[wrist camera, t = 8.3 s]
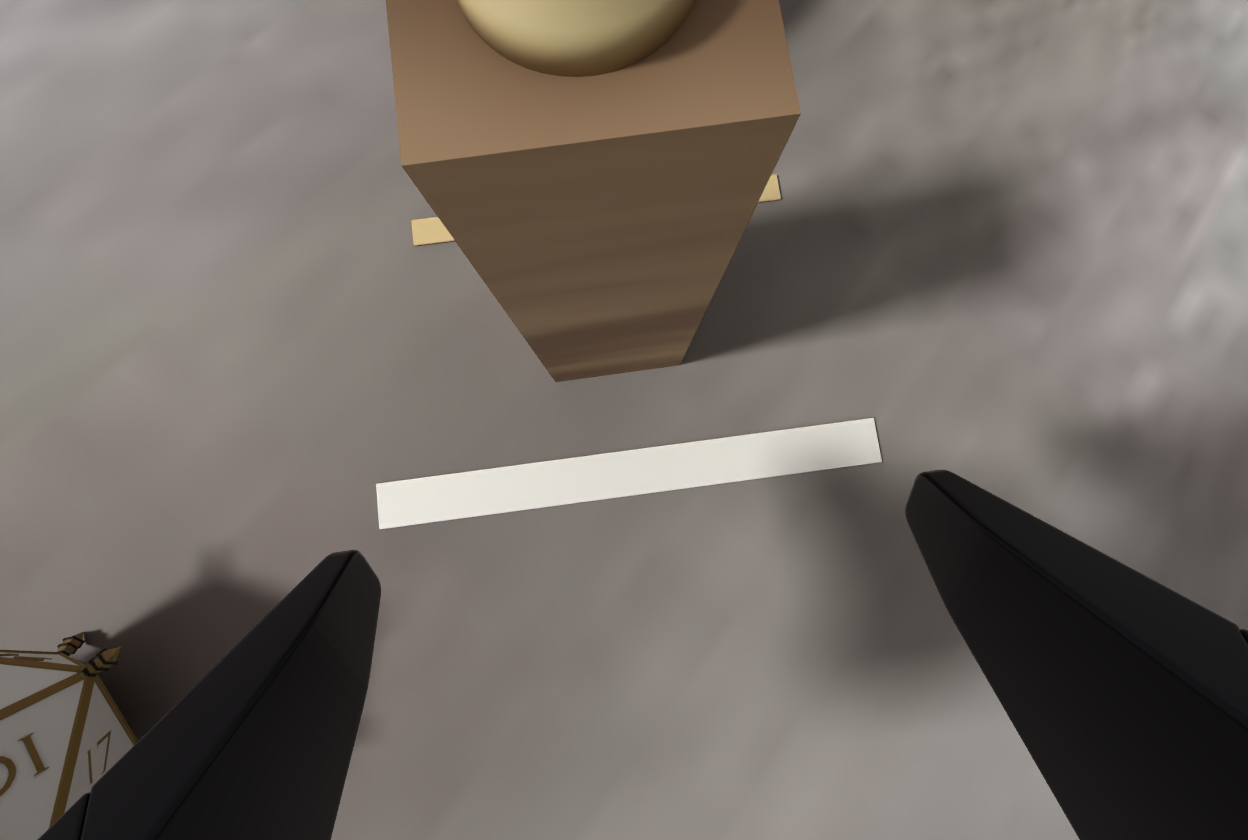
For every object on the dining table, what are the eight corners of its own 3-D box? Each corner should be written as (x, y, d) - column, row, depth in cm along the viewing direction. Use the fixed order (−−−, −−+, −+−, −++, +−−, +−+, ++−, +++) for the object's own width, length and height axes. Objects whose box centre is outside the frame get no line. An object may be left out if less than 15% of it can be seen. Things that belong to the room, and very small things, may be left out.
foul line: (872, 418, 19) (873, 417, 18) (881, 461, 18) (881, 461, 18) (376, 483, 18) (375, 483, 18) (380, 529, 18) (379, 529, 18)
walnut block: (680, 365, 19) (820, 73, 5) (555, 382, 19) (375, 129, 5) (661, 246, 19) (746, -295, 6) (540, 262, 19) (342, -248, 6)
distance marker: (775, 175, 20) (776, 174, 20) (780, 199, 19) (780, 198, 19) (412, 220, 19) (411, 220, 19) (414, 246, 19) (413, 245, 19)
